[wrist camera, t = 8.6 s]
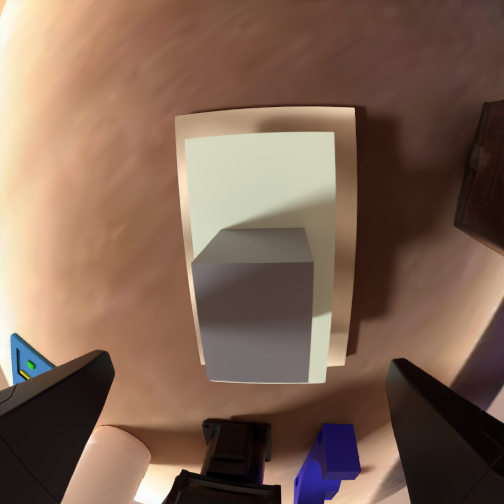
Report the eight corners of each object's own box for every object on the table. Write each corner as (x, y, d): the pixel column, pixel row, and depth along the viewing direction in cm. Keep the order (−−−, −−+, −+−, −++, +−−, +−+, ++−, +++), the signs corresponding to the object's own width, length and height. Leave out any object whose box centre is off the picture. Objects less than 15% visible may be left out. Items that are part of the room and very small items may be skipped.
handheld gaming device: (13, 398, 30) (8, 333, 26) (17, 394, 31) (14, 329, 27) (55, 431, 31) (58, 376, 26) (58, 427, 32) (63, 370, 27)
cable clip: (329, 481, 28) (332, 519, 23) (294, 479, 28) (293, 519, 23) (366, 423, 25) (376, 470, 19) (323, 421, 25) (327, 471, 19)
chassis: (342, 357, 22) (350, 391, 18) (204, 357, 23) (191, 389, 20) (350, 110, 17) (367, 98, 13) (180, 118, 18) (156, 110, 14)
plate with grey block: (330, 134, 14) (360, 118, 8) (323, 370, 18) (332, 445, 12) (191, 140, 15) (137, 132, 9) (214, 369, 19) (191, 440, 13)
